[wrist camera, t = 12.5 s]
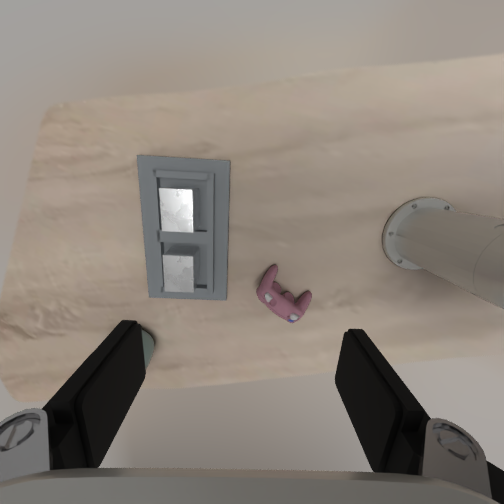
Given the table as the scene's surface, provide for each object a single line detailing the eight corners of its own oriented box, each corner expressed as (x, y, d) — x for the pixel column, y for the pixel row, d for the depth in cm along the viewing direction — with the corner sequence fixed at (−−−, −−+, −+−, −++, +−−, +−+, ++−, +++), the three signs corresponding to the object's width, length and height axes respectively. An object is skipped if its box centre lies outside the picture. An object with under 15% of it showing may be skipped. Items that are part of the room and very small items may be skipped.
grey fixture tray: (230, 161, 36) (229, 160, 34) (226, 297, 44) (225, 304, 41) (139, 155, 36) (131, 154, 34) (151, 294, 43) (145, 301, 41)
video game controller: (259, 272, 44) (249, 301, 39) (274, 260, 41) (265, 289, 36) (297, 301, 46) (292, 332, 41) (314, 292, 43) (311, 323, 38)
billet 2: (199, 247, 39) (192, 256, 35) (199, 279, 41) (193, 292, 36) (172, 245, 39) (162, 255, 35) (174, 278, 41) (164, 291, 36)
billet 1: (199, 188, 37) (192, 189, 32) (200, 225, 38) (193, 232, 34) (170, 186, 36) (159, 188, 32) (172, 224, 38) (162, 231, 33)
